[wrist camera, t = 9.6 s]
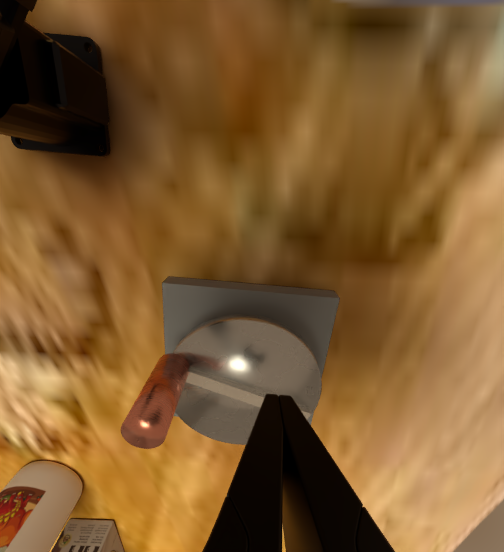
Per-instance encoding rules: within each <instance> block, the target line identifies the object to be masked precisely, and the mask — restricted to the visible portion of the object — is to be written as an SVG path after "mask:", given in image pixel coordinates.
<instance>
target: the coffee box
mask: <svg viewBox="0 0 504 552" xmlns="http://www.w3.org/2000/svg"><path fill="white" fill-rule="evenodd" d="M51 552H124V549H123V547H122V544H121V541H120V538H119V535H118V532H117V530H116V527H115V524H114V521H112V520H87V519H70V520H69V521H68V523H67V524H66V526H65V528H64V530H63V532H62V533H61V535H60V537H59V539H58V540H57V542H56V544H55V546H54V548H53V549H52V551H51Z"/></svg>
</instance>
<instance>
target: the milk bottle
mask: <svg viewBox="0 0 504 552" xmlns="http://www.w3.org/2000/svg"><path fill="white" fill-rule="evenodd" d="M82 487H83V485H82V481H81V479H80V478H79V476H78V475H77V474H76V473H75V472H74V471H73V470H71V469H69V468H68V467H66V466H64V465H62V464H59V463H55V462H51V461H36V462H32V463H29V464H27V465H26V466H24V467H23V468H21V469H20V470H19V471H18V473H17V474H16V475H15V476H14V477H13V478H12V479H11V481H10V482H9V483H8V484H7V485H6V486H5V488H4V489H3V490H2V491H1V492H0V552H49V551H50V549H51V547H52V546H53V544H54V542H55V540H56V539H57V537H58V535H59V533H60V532H61V530H62V528H63V526H64V524H65V523H66V521H67V519H68V517H69V516H70V514H71V512H72V510H73V509H74V507H75V505H76V503H77V501H78V499H79V498H80V496H81V493H82Z"/></svg>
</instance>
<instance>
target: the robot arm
mask: <svg viewBox="0 0 504 552" xmlns="http://www.w3.org/2000/svg"><path fill="white" fill-rule="evenodd" d="M36 2H37V0H0V134H3V135H8V136H11V140H12V142H13V144H14V145H15V146H16V147H17V148H20V149H26V150H36V151H47V152H58V153H69V154H80V155H91V156H102V157H105V156H108V155H109V153H110V143H109V133H108V123H109V112H108V101H107V91H106V81H105V78H104V77H103V74H102V64H101V54H100V49H99V46H98V45H97V44H96V43H95V42H94V41H93V40H92V39H91V38H88V37H81V36H71V35H61V34H50V33H42V32H41V31H39V30H38V29H37V28H35V27H34V26H33V25H31V24H30V23H28V22H27V21H26V20H25V18H26V16H27V14H28V11H29V10H30V11H31V12H32V11H33V9H34V6H35V4H36ZM89 46H92V51H91V52H90V53H89V52H88V48H89ZM21 138H22V140H23V143H22V144H21V142H20V139H21ZM100 145H102V146H103V151H102V152H101V151H100V149H99V147H100ZM362 506H363V504H362V502H361V501H360V499H359V498H358V496H357V495H356V493H355V492H354V490H353V489H352V487H351V486H350V484H349V483H348V481H347V480H346V478H345V477H344V475H343V474H342V472H341V471H340V469H339V467H338V466H337V464H336V463H335V461H334V460H333V458H332V457H331V455H330V454H329V452H328V451H327V449H326V448H325V446H324V445H323V443H322V442H321V440H320V439H319V437H318V436H317V434H316V433H315V431H314V430H313V428H312V427H311V425H310V424H309V422H308V421H307V419H306V418H305V416H304V415H303V413H302V412H301V410H300V409H299V407H298V405H297V404H296V402H295V401H294V399H293V398H292V397H291V396H290V395H279V396H278V395H277V394H266V395H265V397H264V400H263V403H262V405H261V408H260V410H259V413H258V415H257V418H256V421H255V423H254V426H253V428H252V431H251V433H250V436H249V439H248V441H247V444H246V446H245V449H244V451H243V454H242V457H241V459H240V462H239V464H238V467H237V470H236V472H235V475H234V477H233V480H232V482H231V485H230V488H229V490H228V493H227V497H225V500H224V502H223V505H222V508H221V510H220V513H219V515H218V518H217V520H216V522H215V525H214V527H213V529H212V532H211V534H210V537H209V539H208V541H207V543H206V545H205V547H204V549H203V551H202V552H282V523H283V531H284V539H285V547H286V552H395V551H394V549H393V548H392V547H391V545H390V544H389V542H388V541H387V539H386V538H385V536H384V535H383V534H382V532H381V531H380V529H379V528H378V526H377V525H376V523H375V522H374V520H373V519H372V517H371V516H370V514H369V513H368V511H367V510H366V508H365V507H362Z"/></svg>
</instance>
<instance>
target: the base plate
mask: <svg viewBox="0 0 504 552" xmlns="http://www.w3.org/2000/svg"><path fill="white" fill-rule="evenodd" d="M162 290H163V313H164V336H165V354H169V353H173V352H174V350H175V348H176V346H177V345H178V344H179V342H180V341H181V339H182V338H183V337H184V336H185V335H186V334H187V333H188V332H190V331H191V330H192V329H194V328H195V327H197V326H198V325H200V324H202V323H204V322H206V321H208V320H211V319H214V318H217V317H221V316H226V315H232V314H249V315H257V316H263V317H267V318H270V319H273V320H276V321H278V322H280V323H282V324H284V325H286V326H287V327H289V328H291V329H292V330H294V331H295V332H296V333H297V334H298V335H300V336H301V337H302V338H303V340H304V341H305V342H306V343H307V344H308V346H309V347H310V349H311V350H312V352H313V354H314V356H315V359H316V362H317V365H318V368H319V371H320V375H321V378H322V373H323V369H324V365H325V360H326V356H327V352H328V347H329V343H330V339H331V334H332V330H333V325H334V321H335V317H336V312H337V308H338V304H339V299H340V298H339V297H338V295H337V294H336V293H335V291H331V290H320V289H308V288H297V287H285V286H274V285H262V284H251V283H239V282H227V281H216V280H204V279H193V278H181V277H170V276H169V277H168V278H167V279H166V280H165V281H164V282H163V283H162ZM313 413H314V412H313ZM313 413H312V415H311V416H310V417H309V418H308V420H307V421H308V422H309V424H310V425H311V421H312V417H313ZM174 416H178V415H177V414H176V412H175V413H174Z"/></svg>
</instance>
